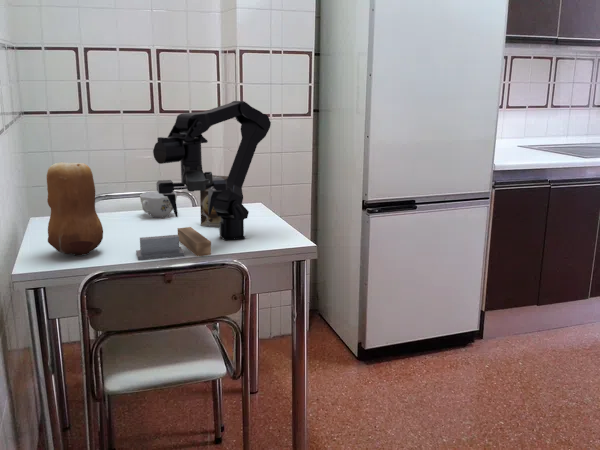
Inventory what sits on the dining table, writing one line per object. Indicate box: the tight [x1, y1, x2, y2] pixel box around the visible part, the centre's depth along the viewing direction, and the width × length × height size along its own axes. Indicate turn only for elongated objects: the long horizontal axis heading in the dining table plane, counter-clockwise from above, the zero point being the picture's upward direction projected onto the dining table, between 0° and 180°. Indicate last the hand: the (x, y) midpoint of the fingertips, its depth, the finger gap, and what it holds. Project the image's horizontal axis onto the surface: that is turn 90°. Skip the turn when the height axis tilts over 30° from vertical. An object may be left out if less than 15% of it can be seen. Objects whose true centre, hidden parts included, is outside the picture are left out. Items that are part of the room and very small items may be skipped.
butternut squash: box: [46, 161, 104, 257], centre depth 152 cm, size 14×13×25 cm
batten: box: [177, 226, 212, 257], centre depth 162 cm, size 4×18×4 cm, turn 28°
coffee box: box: [199, 174, 229, 228], centre depth 187 cm, size 9×6×16 cm
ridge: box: [135, 234, 185, 261], centre depth 154 cm, size 12×6×5 cm, turn 111°
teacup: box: [139, 191, 178, 218], centre depth 198 cm, size 15×12×8 cm
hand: (193, 215), depth 161 cm, fingers open, 9 cm apart
